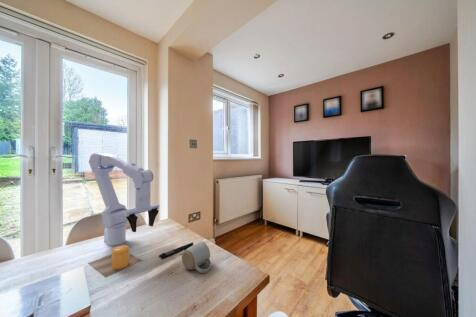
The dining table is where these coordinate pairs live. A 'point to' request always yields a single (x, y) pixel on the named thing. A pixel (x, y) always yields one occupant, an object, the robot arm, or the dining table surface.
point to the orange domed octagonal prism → (120, 257)
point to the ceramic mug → (196, 257)
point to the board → (110, 265)
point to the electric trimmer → (175, 251)
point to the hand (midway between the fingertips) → (142, 228)
